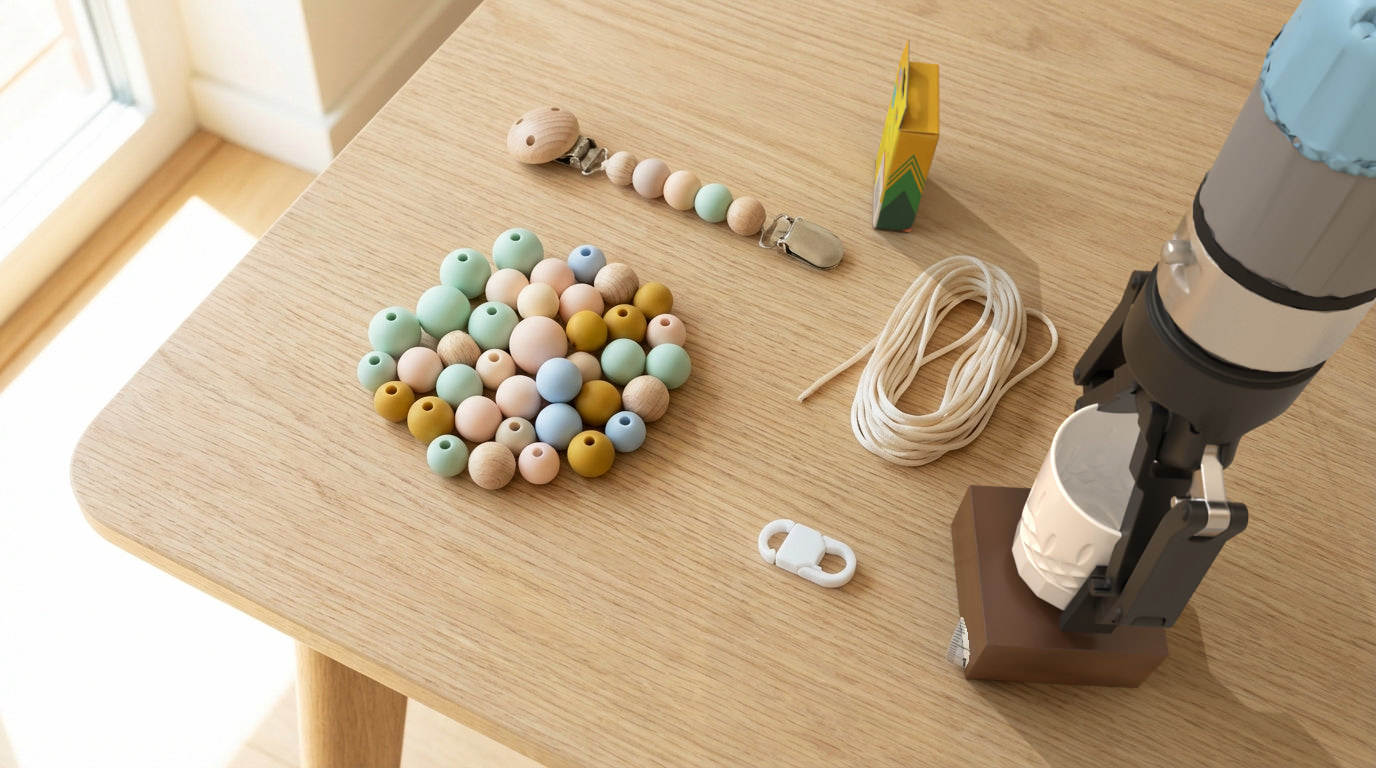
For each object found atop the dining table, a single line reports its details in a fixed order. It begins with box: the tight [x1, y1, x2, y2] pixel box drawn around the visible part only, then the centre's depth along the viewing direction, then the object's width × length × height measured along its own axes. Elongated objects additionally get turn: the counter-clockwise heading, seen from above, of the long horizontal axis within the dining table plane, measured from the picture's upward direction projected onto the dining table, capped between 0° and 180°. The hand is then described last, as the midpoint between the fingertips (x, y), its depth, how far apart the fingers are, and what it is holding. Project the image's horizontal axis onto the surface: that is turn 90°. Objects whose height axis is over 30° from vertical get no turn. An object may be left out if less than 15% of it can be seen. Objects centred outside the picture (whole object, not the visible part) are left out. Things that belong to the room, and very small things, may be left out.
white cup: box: [1012, 404, 1156, 610], centre depth 64 cm, size 8×8×10 cm
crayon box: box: [872, 38, 940, 233], centre depth 86 cm, size 7×3×12 cm, turn 173°
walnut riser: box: [950, 484, 1170, 689], centre depth 71 cm, size 10×10×5 cm
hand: (1074, 556), depth 68 cm, fingers closed on white cup, 8 cm apart
